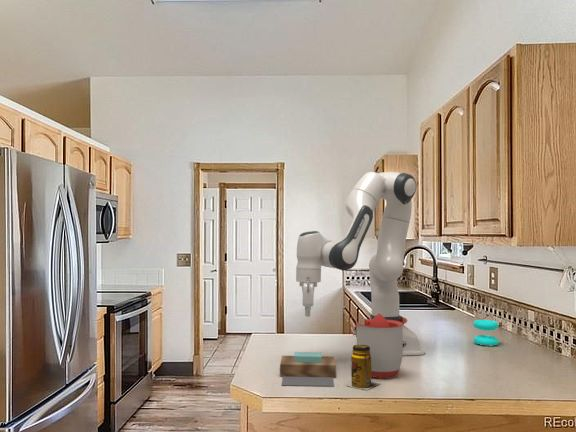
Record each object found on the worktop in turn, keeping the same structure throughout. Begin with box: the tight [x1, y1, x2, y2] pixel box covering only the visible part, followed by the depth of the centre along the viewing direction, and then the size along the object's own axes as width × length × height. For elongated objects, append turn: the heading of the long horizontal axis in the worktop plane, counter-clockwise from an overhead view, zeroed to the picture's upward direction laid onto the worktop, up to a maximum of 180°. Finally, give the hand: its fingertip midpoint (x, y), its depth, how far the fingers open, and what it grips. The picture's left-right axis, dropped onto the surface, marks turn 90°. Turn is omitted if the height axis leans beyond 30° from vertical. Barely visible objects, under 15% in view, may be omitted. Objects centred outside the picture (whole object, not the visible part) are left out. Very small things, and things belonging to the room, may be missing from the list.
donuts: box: [472, 319, 499, 346], centre depth 210 cm, size 10×10×10 cm
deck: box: [279, 355, 337, 379], centre depth 164 cm, size 18×12×4 cm, turn 88°
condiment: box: [345, 344, 381, 391], centre depth 150 cm, size 7×8×12 cm
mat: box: [281, 377, 335, 388], centre depth 153 cm, size 16×9×1 cm, turn 88°
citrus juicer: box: [352, 313, 403, 380], centre depth 163 cm, size 16×17×20 cm
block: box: [293, 351, 323, 363], centre depth 164 cm, size 9×6×2 cm, turn 87°
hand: (307, 315), depth 173 cm, fingers closed
